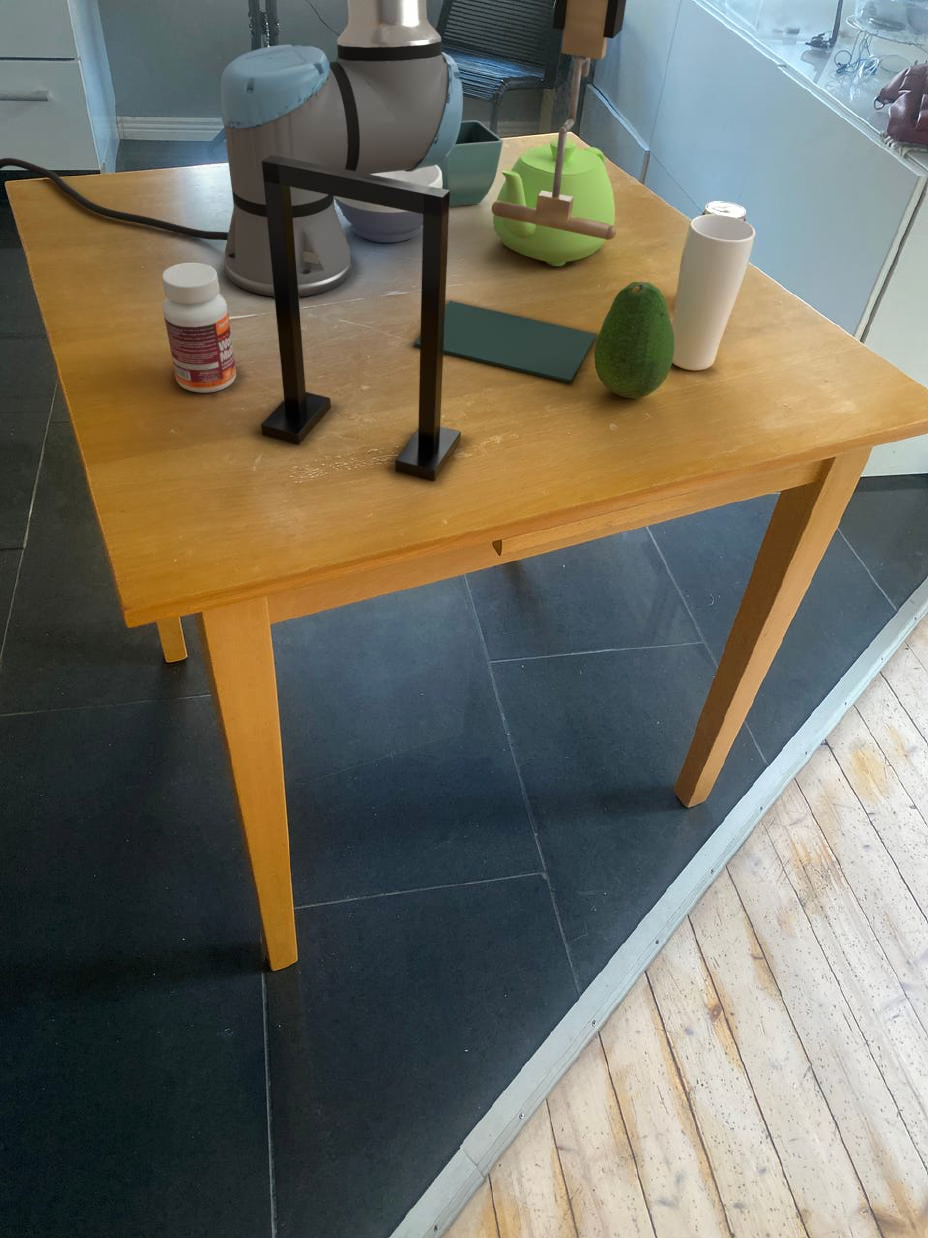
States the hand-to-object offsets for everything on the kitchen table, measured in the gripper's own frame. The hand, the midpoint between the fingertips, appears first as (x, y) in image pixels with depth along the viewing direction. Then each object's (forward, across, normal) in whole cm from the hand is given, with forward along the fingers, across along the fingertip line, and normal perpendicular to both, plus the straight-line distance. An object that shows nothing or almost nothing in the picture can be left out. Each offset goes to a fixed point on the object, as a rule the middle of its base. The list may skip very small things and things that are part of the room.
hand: (587, 28), depth 71 cm
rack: (+35, -15, -10) cm, 39 cm away
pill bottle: (+35, -34, -8) cm, 49 cm away
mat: (+35, -8, +14) cm, 38 cm away
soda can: (+35, +11, +32) cm, 49 cm away
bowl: (+35, -32, +34) cm, 59 cm away
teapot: (+35, -11, +39) cm, 53 cm away
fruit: (+35, +7, +9) cm, 37 cm away
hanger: (+14, 0, -1) cm, 14 cm away
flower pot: (+35, -27, +48) cm, 66 cm away
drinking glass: (+35, +12, +19) cm, 42 cm away
